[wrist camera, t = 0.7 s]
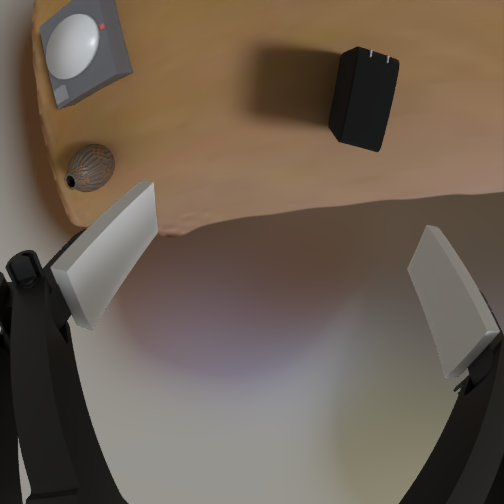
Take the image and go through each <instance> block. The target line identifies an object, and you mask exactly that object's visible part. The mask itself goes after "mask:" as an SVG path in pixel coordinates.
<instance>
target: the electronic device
mask: <svg viewBox="0 0 504 504" xmlns="http://www.w3.org/2000/svg"><path fill="white" fill-rule="evenodd" d="M398 71H399V60H397V59H394V58H392V57H389V55H383V54H380V53H377V52H374V51H373V50H371V49H370V50H368V49H365V48H361V47H355V48H353V49H351V50H349V51H346V52H344V53H343V54H342V56H341V59H340V64H339V70H338V75H337V81H336V86H335V92H334V97H333V102H332V107H331V112H330V117H329V129H330V130H331V131H332V133H333V134H334V136H335V137H336V139H337V140H338V142H341V143H345V144H349V145H353V146H357V147H360V148H364V149H368V150H371V151H375V152H379V150H380V148H381V145H382V142H383V138H384V134H385V130H386V126H387V122H388V118H389V114H390V110H391V105H392V101H393V96H394V91H395V87H396V82H397V77H398Z"/></svg>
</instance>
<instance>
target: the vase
mask: <svg viewBox="0 0 504 504" xmlns="http://www.w3.org/2000/svg"><path fill="white" fill-rule="evenodd" d="M114 167H115V162H114V157H113V155H112V153H111V152H110V151H109V150H108V149H107V148H106V147H104V146H102V145H89V146H86V147H84V148H82V149H80V150H79V151H78V152H76V153H75V155H74V156H73V157H72V158H71V160H70V162H69V165H68V169H67V174H66V175H65V178H64V181H65V184H66V186H67V187H68V188H69V189H71V190H73V189H76V190H78V191H81V192H91V191H95V190H97V189H99V188H101V187H102V186H104V185H105V184H106V183H107V182H108V181H109V179H110V178H111V176H112V174H113V171H114Z"/></svg>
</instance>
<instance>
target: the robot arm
mask: <svg viewBox="0 0 504 504" xmlns="http://www.w3.org/2000/svg"><path fill="white" fill-rule="evenodd" d="M157 233H158V227H157V218H156V208H155V196H154V183H153V182H140V181H139V182H138V183H137V184H136V185H135V186H134V187H132V188H131V189H130V190H129V191H128V192H127V193H125V194H124V195H123V196H122V197H121V198H120V199H119V200H117V201H116V202H115V203H114V204H113V205H112V206H111V207H110V208H109V209H107V210H106V211H105V212H104V213H103V214H102V215H101V216H100V217H99V218H98V219H97V220H96V221H95V222H94V223H93V224H92V225H91V226H89V227H88V228H87V229H84V230H83V231H80V232H79V233H77V234H75V235H74V236H73V237H72V238H71V239H70V241H68V244H65V246H63V247H62V250H60V251H59V252H58V253H57V254H56V255H55V256H54V257H53V258H52V259H51V260H50V261H49V263H48V264H47V265H46V266H45V267H44V268H43V269H42V267H41V264H40V262H39V259H38V256H37V254H36V253H35V252H34V251H32V250H26V251H22V252H20V253H18V254H16V255H15V256H13V257H12V258H11V259H10V260H9V262H8V263H7V265H6V270H7V272H8V274H9V276H10V278H11V280H12V282H7V281H6V279H5V277H4V275H3V273H1V272H0V326H1V332H0V504H23V502H22V493H21V485H20V475H19V463H18V462H19V461H18V438H19V443H20V448H21V453H22V457H23V460H24V465H25V469H26V472H27V476H28V479H29V482H30V486H31V494H30V496H29V497H28V498H27V499H26V504H128V503H127V502H126V501H125V500H124V499H123V497H122V496H121V494H120V492H119V490H118V488H117V486H116V484H115V482H114V479H113V478H112V475H111V473H110V470H109V468H108V466H107V463H106V461H105V458H104V456H103V453H102V451H101V448H100V445H99V443H98V440H97V437H96V435H95V431H94V428H93V426H92V422H91V419H90V416H89V413H88V409H87V406H86V402H85V399H84V395H83V391H82V387H81V383H80V379H79V374H78V370H77V365H76V360H75V355H74V350H73V344H72V338H71V332H70V326H69V324H68V322H67V320H68V318H69V317H70V316H71V315H72V316H73V319H74V320H75V322H76V324H77V325H78V326H81V327H84V328H87V329H90V330H93V328H94V327H95V325H96V323H97V322H98V320H99V318H100V317H101V315H102V314H103V312H104V310H105V309H106V307H107V306H108V304H109V302H110V301H111V299H112V298H113V296H114V295H115V293H116V292H117V290H118V289H119V287H120V285H121V284H122V282H123V281H124V280H125V278H126V277H127V275H128V274H129V272H130V271H131V269H132V268H133V266H134V265H135V263H136V262H137V260H138V259H139V258H140V256H141V255H142V253H143V252H144V251H145V249H146V248H147V246H148V245H149V244H150V242H151V241H152V239H153V238H154V236H155V235H156V234H157ZM407 270H408V273H409V275H410V277H411V280H412V282H413V285H414V287H415V290H416V292H417V295H418V297H419V300H420V302H421V305H422V308H423V310H424V313H425V315H426V318H427V321H428V324H429V327H430V330H431V333H432V336H433V339H434V342H435V345H436V348H437V351H438V355H439V358H440V362H441V365H442V369H443V372H444V376H445V378H453V377H459V376H460V375H461V374H462V373H463V372H464V371H465V370H466V369H467V368H468V371H469V375H468V376H467V377H466V378H465V379H464V380H463V381H462V382H461V383H460V384H459V385H457V386H456V387H455V389H454V390H453V391H454V392H455V391H457V390H458V389H459V388H461V390H460V392H459V393H458V394H459V395H458V398H457V400H456V403H455V405H454V408H453V410H452V412H451V415H450V417H449V420H448V421H447V423H446V425H445V428H444V430H443V432H442V434H441V436H440V438H439V440H438V442H437V443H436V445H435V447H434V449H433V451H432V453H431V454H430V456H429V458H428V460H427V462H426V463H425V465H424V467H423V468H422V470H421V471H420V473H419V475H418V476H417V478H416V480H415V481H414V482H413V484H412V486H411V487H410V489H409V490H408V491H407V493H406V494H405V496H404V497H403V499H402V500H401V501H400V503H399V504H504V335H503V333H502V330H501V328H500V326H499V324H498V322H497V320H496V318H495V316H494V314H493V312H491V311H492V310H491V308H490V306H489V305H488V302H487V300H486V299H485V297H484V295H483V294H482V293H481V291H480V290H479V289H478V288H477V286H476V284H475V282H474V281H473V279H472V278H471V276H470V274H469V273H468V271H467V269H466V268H465V266H464V264H463V263H462V261H461V260H460V258H459V257H458V255H457V254H456V252H455V250H454V249H453V248H452V246H451V245H450V243H449V242H448V240H447V239H446V237H445V236H444V235H443V233H442V232H441V230H440V229H439V228H438V227H434V226H430V225H427V226H426V228H425V230H424V233H423V235H422V237H421V240H420V242H419V244H418V247H417V249H416V251H415V253H414V256H413V258H412V260H411V262H410V264H409V266H408V268H407Z"/></svg>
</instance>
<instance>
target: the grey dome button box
mask: <svg viewBox="0 0 504 504" xmlns="http://www.w3.org/2000/svg"><path fill="white" fill-rule="evenodd" d="M40 33H41V39H42V44H43V49H44V54H45V59H46V64H47V68H48V73H49V77H50V81H51V85H52V88H53V92H54V96H55V99H56V103H57V106H58V110H59V109H62V108H65V107H68V106H71V105H75V104H76V103H78V102H80V101H81V100H83V99H85V98H86V97H88V96H90V95H91V94H93V93H95V92H97V91H98V90H100V89H102V88H104V87H106V86H107V85H109V84H111V83H113V82H115V81H117V80H119V79H121V78H123V77H125V76H127V75H129V74H131V73H133V71H132V67H131V64H130V60H129V56H128V53H127V49H126V45H125V41H124V37H123V33H122V29H121V25H120V21H119V17H118V13H117V9H116V4H115V0H72V1H71V2H70V3H68V4H67V5H66V6H65V7H63V8H62V9H61V10H60V11H58V12H57V13H56V14H55V15H53V16H52V17H51V18H50V19H49V20H48V21H46V22H45V23H44V24H43V25H42V26H41V27H40Z"/></svg>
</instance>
